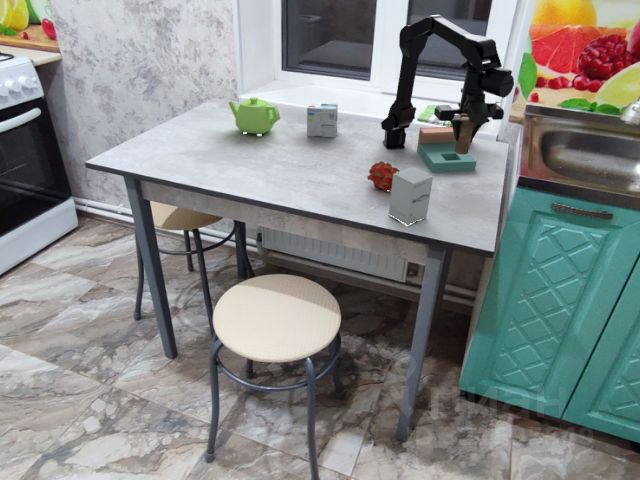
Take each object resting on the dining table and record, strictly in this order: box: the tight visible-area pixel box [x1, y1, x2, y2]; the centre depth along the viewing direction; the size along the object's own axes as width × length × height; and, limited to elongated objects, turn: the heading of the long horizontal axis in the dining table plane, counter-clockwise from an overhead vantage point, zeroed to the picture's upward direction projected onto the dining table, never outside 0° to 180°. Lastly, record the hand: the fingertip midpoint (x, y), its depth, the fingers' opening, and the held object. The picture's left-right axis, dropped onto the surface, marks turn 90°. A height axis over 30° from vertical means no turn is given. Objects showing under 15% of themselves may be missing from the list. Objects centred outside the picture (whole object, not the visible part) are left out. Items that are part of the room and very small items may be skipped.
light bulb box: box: [306, 101, 339, 138], centre depth 172 cm, size 11×7×11 cm, turn 83°
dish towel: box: [417, 104, 454, 127], centre depth 189 cm, size 17×23×4 cm
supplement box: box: [388, 166, 434, 225], centre depth 123 cm, size 7×7×13 cm
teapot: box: [228, 96, 281, 134], centre depth 173 cm, size 20×13×13 cm
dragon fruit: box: [367, 160, 401, 192], centre depth 138 cm, size 8×8×12 cm
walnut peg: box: [454, 117, 474, 154], centre depth 140 cm, size 4×4×10 cm
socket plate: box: [416, 126, 477, 173], centre depth 155 cm, size 14×17×8 cm
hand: (463, 140), depth 141 cm, fingers closed on walnut peg, 4 cm apart
